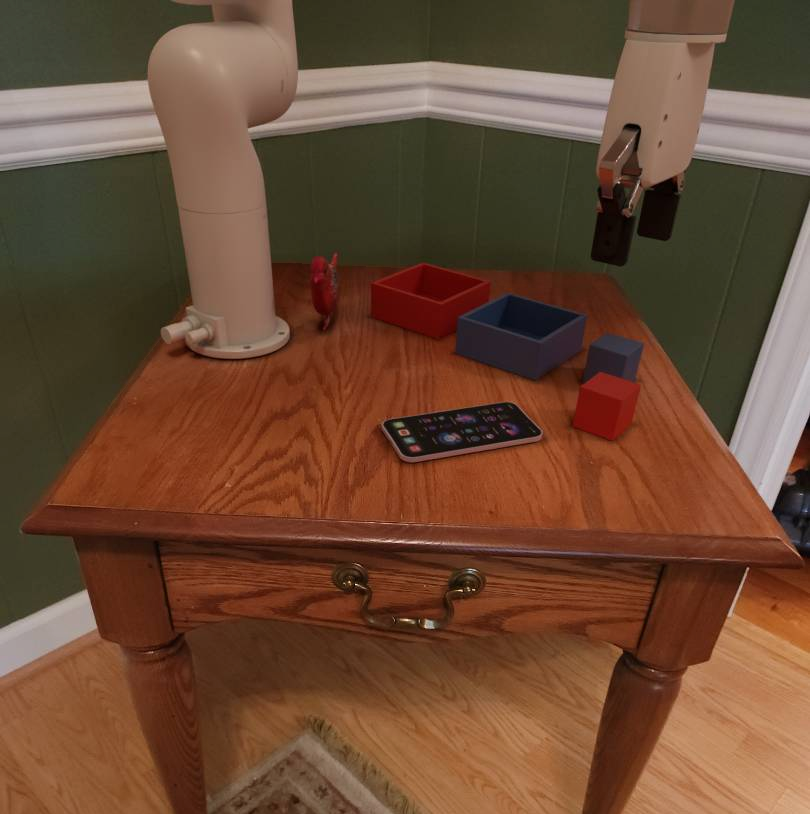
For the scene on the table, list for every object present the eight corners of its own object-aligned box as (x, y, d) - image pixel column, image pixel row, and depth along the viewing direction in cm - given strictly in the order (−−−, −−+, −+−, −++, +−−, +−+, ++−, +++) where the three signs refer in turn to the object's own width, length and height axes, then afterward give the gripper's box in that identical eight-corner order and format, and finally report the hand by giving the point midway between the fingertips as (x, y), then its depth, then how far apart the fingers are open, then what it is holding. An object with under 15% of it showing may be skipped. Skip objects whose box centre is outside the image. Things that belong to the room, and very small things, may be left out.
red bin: (439, 339, 91) (441, 304, 88) (370, 316, 96) (370, 282, 93) (487, 314, 98) (491, 281, 95) (421, 294, 103) (422, 262, 100)
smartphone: (378, 420, 73) (512, 400, 77) (378, 425, 73) (512, 405, 77) (404, 459, 67) (547, 435, 72) (403, 464, 68) (546, 440, 72)
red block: (612, 441, 72) (622, 400, 70) (572, 426, 75) (579, 386, 72) (631, 424, 75) (641, 384, 73) (591, 410, 77) (600, 371, 75)
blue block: (618, 394, 81) (627, 355, 78) (582, 381, 83) (589, 344, 80) (635, 380, 83) (644, 343, 81) (599, 369, 86) (607, 332, 83)
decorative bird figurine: (306, 346, 88) (301, 262, 82) (327, 295, 102) (325, 219, 96) (330, 348, 88) (327, 264, 82) (348, 296, 102) (347, 221, 96)
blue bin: (535, 381, 83) (541, 343, 80) (454, 353, 88) (457, 317, 85) (581, 350, 90) (587, 314, 87) (503, 326, 95) (507, 292, 92)
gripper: (673, 12, 62) (632, 222, 73) (581, 18, 52) (548, 264, 62) (763, 16, 59) (706, 236, 69) (684, 23, 48) (630, 283, 59)
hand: (631, 249), depth 66 cm, fingers open, 9 cm apart
